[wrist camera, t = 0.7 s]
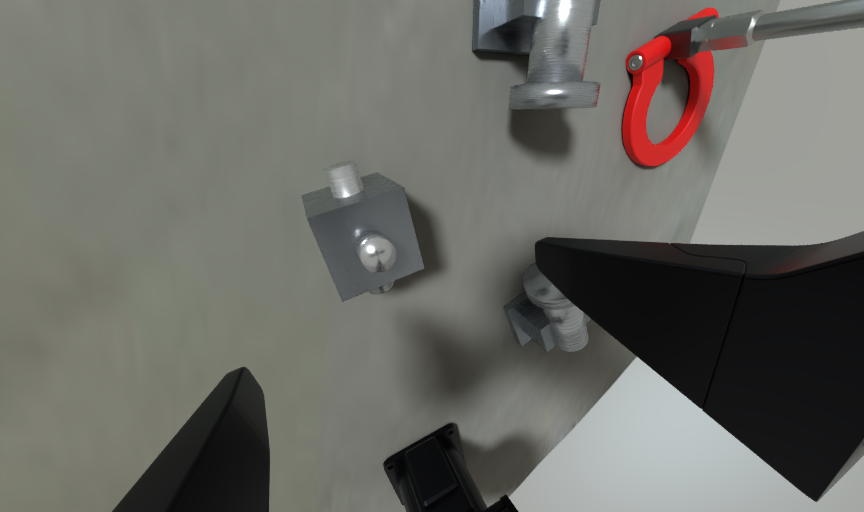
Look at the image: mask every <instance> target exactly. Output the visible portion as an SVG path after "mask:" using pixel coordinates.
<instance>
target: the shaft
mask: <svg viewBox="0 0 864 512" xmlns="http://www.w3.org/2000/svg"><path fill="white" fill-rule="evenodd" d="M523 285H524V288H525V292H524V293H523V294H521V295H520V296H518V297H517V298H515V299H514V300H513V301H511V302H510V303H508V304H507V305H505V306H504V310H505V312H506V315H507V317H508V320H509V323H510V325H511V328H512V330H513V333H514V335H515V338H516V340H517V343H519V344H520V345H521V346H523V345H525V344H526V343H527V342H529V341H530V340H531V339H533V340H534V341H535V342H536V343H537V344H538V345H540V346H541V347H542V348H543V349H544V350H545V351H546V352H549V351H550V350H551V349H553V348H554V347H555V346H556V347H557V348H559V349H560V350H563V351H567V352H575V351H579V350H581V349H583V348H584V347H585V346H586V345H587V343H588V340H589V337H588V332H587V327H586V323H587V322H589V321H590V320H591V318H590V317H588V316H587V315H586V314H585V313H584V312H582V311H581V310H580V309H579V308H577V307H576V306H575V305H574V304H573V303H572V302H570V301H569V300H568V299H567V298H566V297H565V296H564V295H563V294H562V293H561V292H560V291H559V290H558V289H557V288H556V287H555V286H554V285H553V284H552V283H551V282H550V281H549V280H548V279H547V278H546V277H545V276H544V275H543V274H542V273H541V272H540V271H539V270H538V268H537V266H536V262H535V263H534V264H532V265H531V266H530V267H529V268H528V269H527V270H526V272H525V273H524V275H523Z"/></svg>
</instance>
